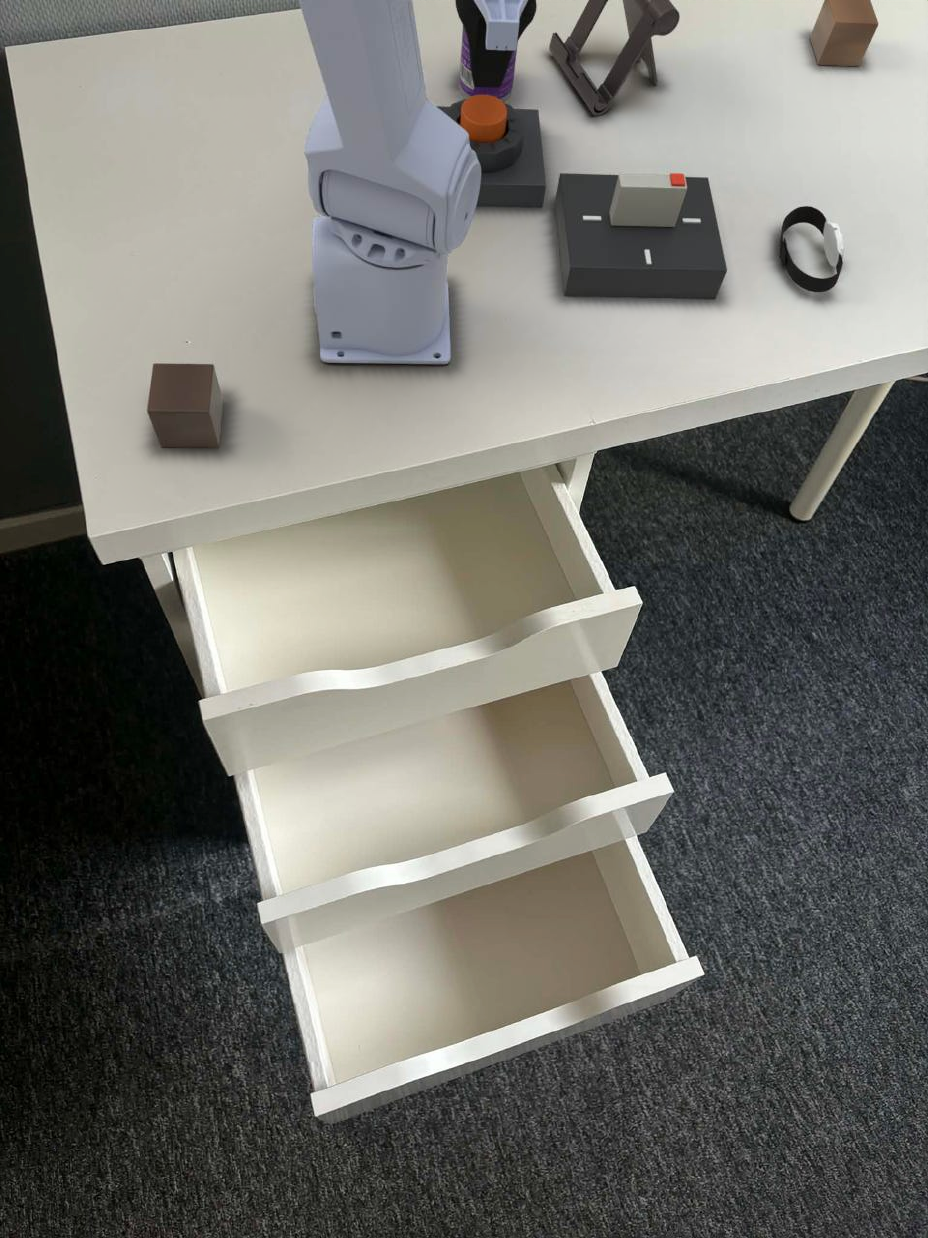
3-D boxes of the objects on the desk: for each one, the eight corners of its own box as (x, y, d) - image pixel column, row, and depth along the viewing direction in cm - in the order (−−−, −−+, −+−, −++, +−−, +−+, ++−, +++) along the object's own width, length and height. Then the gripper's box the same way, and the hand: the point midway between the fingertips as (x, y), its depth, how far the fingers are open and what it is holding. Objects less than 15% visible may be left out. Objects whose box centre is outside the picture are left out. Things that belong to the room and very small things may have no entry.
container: (507, 110, 82) (528, -79, 69) (454, 100, 82) (465, -91, 69) (516, 76, 84) (539, -114, 71) (464, 66, 84) (477, -126, 71)
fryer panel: (563, 296, 73) (570, 265, 70) (554, 203, 78) (560, 170, 75) (715, 299, 74) (728, 268, 71) (697, 207, 78) (708, 175, 76)
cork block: (817, 64, 87) (835, 21, 84) (809, 37, 89) (826, -7, 86) (859, 66, 88) (879, 23, 84) (850, 38, 89) (869, -5, 86)
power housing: (419, 204, 77) (420, 162, 73) (418, 128, 80) (419, 84, 77) (542, 207, 77) (549, 165, 74) (535, 132, 81) (541, 88, 78)
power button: (460, 143, 75) (462, 123, 73) (459, 113, 76) (460, 92, 75) (506, 145, 75) (508, 125, 73) (503, 114, 77) (505, 94, 75)
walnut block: (160, 447, 65) (146, 411, 62) (166, 400, 67) (152, 362, 63) (219, 448, 65) (209, 411, 62) (223, 401, 67) (213, 363, 64)
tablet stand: (546, 55, 86) (561, -43, 78) (623, 38, 87) (645, -59, 80) (589, 118, 82) (608, 22, 75) (668, 99, 84) (694, 4, 76)
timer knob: (610, 225, 73) (621, 183, 69) (609, 212, 73) (619, 170, 70) (674, 227, 73) (688, 185, 70) (672, 213, 74) (685, 171, 70)
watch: (846, 296, 75) (866, 261, 72) (790, 300, 75) (808, 265, 71) (817, 226, 78) (835, 189, 75) (763, 229, 78) (779, 192, 75)
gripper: (577, -49, 57) (546, 148, 69) (558, -181, 63) (532, 22, 75) (460, -54, 56) (449, 145, 69) (453, -187, 63) (444, 18, 75)
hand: (486, 81), depth 72 cm, fingers closed
